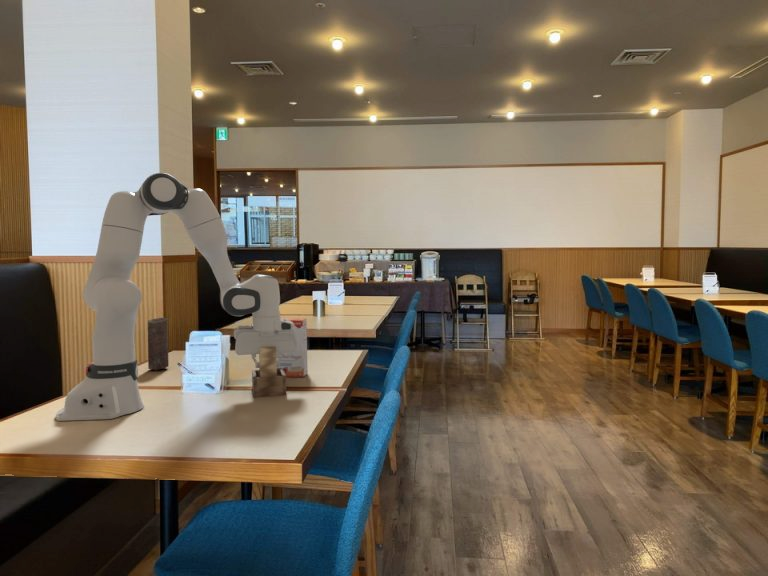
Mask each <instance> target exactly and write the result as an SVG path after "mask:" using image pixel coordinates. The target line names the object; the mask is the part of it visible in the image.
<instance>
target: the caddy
mask: <svg viewBox="0 0 768 576" xmlns="http://www.w3.org/2000/svg"><path fill="white" fill-rule="evenodd" d="M251 382H252V384H251V385H252V388H251V389H252V394H253V398H265V397H276V396H286V395H287V377H286V375H285V373H284V371H283V369H282V368H277V376H271V377H260V374H259V369H252V370H251Z"/></svg>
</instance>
